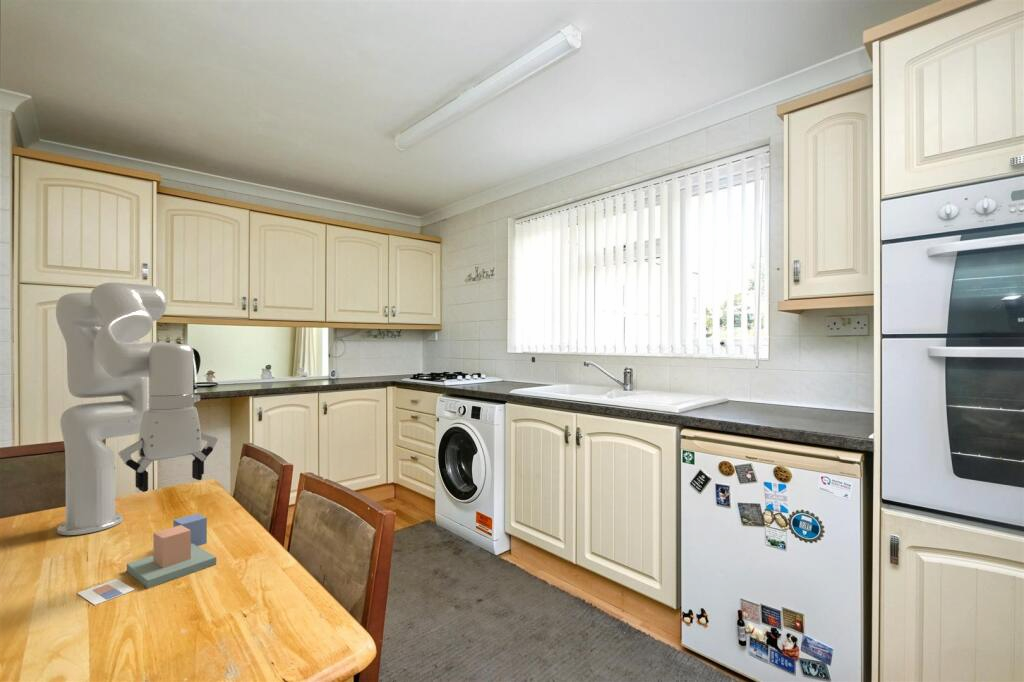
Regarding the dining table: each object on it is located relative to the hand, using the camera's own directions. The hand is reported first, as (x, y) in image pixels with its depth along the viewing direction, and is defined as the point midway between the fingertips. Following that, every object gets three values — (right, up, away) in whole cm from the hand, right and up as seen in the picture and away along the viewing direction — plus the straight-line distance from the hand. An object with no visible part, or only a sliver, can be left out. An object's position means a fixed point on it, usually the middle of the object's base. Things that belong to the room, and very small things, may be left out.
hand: (171, 484), depth 99 cm
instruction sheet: (-5, -17, -10) cm, 21 cm away
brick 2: (-4, -17, +11) cm, 21 cm away
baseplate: (0, -17, 0) cm, 17 cm away
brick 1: (0, -16, 0) cm, 16 cm away
